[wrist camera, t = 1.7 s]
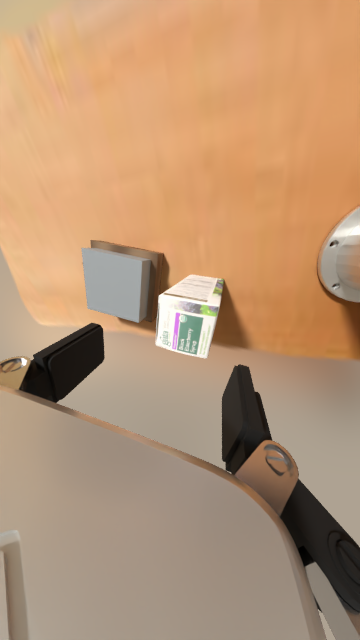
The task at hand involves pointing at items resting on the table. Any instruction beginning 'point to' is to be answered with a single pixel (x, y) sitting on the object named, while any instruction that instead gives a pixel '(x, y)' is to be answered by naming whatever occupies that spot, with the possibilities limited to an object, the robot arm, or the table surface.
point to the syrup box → (189, 315)
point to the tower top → (116, 283)
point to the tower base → (154, 271)
